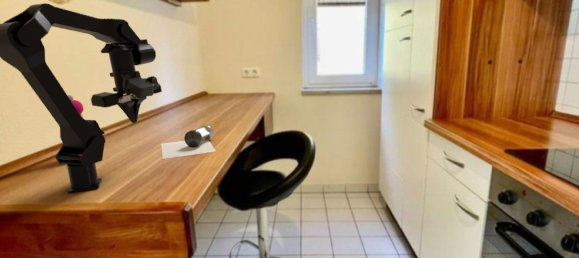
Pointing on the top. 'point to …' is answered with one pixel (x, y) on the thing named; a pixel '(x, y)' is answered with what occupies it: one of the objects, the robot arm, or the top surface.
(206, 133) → the silver and black cylinder
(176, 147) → the felt mat
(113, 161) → the top surface
